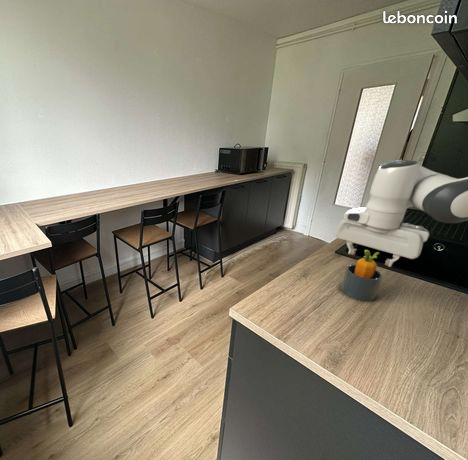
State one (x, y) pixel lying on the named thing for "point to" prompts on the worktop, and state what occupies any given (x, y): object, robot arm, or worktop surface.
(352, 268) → the tumbler
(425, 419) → the worktop surface
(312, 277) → the worktop surface
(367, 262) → the carrot
